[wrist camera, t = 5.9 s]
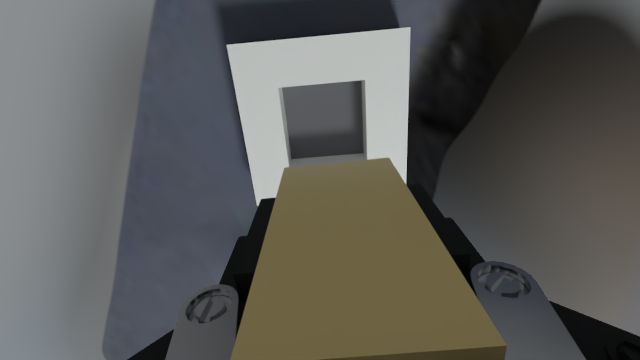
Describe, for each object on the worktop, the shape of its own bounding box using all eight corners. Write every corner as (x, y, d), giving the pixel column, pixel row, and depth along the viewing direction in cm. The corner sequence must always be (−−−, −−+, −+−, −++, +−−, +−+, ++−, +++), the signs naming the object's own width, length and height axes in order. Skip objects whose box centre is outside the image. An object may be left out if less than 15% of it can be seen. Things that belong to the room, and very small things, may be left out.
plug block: (388, 157, 12) (507, 345, 4) (390, 245, 13) (478, 491, 6) (284, 167, 12) (228, 366, 5) (297, 252, 13) (272, 502, 6)
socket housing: (401, 28, 22) (410, 27, 20) (398, 181, 27) (405, 194, 25) (235, 44, 23) (226, 44, 20) (262, 192, 27) (257, 205, 25)
